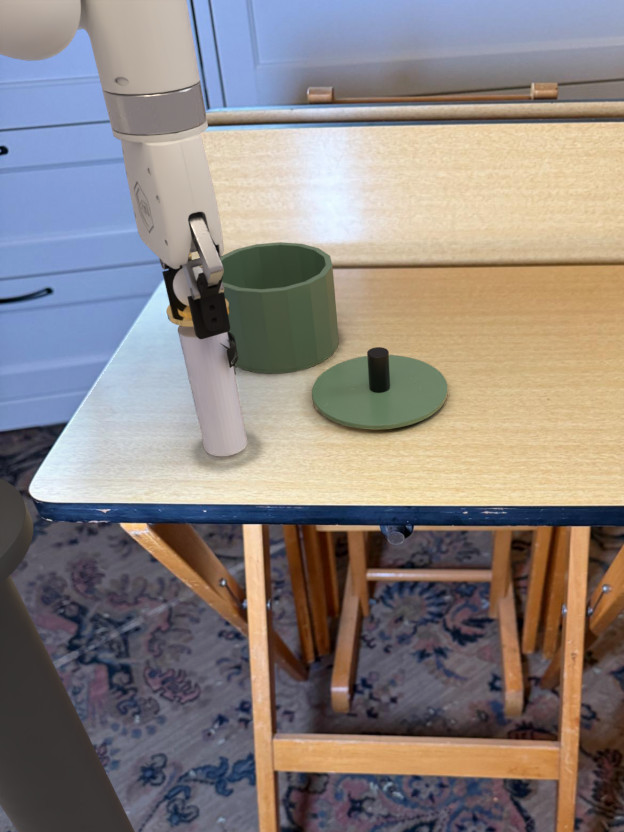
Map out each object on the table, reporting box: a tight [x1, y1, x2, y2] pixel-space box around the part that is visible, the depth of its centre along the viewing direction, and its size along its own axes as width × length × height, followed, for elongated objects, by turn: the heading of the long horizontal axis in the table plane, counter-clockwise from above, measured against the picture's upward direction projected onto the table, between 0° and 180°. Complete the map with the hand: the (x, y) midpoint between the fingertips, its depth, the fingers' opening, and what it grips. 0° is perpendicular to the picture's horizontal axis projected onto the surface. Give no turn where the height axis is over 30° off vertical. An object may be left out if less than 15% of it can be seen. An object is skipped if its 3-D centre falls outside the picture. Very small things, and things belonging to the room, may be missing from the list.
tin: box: [220, 241, 340, 375], centre depth 99 cm, size 15×15×10 cm
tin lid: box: [311, 346, 449, 431], centre depth 90 cm, size 16×16×6 cm
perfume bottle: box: [165, 266, 248, 457], centre depth 78 cm, size 6×6×20 cm
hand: (200, 319), depth 75 cm, fingers closed on perfume bottle, 5 cm apart
